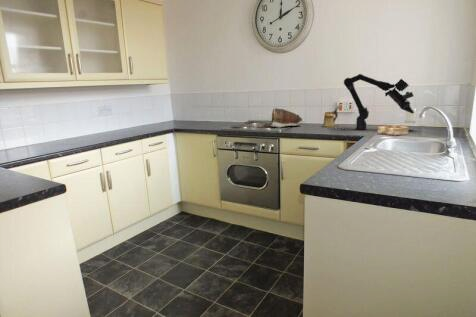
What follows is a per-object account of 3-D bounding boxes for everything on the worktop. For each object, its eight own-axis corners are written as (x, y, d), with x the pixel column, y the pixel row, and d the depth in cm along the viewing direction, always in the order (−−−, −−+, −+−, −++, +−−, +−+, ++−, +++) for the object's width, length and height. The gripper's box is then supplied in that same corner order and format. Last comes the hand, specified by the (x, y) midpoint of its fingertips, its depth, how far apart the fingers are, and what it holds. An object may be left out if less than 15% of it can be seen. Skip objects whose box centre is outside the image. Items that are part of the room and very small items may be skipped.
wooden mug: (341, 127, 248) (342, 103, 244) (323, 127, 250) (323, 104, 246) (339, 125, 257) (340, 102, 252) (322, 125, 259) (322, 103, 255)
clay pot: (306, 112, 252) (275, 107, 251) (303, 131, 254) (272, 126, 253) (302, 112, 267) (272, 108, 266) (298, 131, 269) (269, 126, 267)
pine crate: (377, 133, 215) (378, 126, 213) (390, 131, 221) (390, 125, 220) (395, 136, 203) (395, 129, 202) (408, 133, 210) (408, 127, 208)
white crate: (405, 122, 219) (406, 109, 217) (404, 121, 224) (405, 108, 222) (415, 122, 217) (416, 109, 215) (414, 121, 222) (415, 108, 220)
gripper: (407, 88, 208) (425, 105, 207) (405, 87, 225) (421, 103, 223) (392, 100, 213) (410, 117, 212) (392, 98, 230) (407, 114, 228)
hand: (412, 112), depth 219 cm, fingers closed on white crate, 6 cm apart
